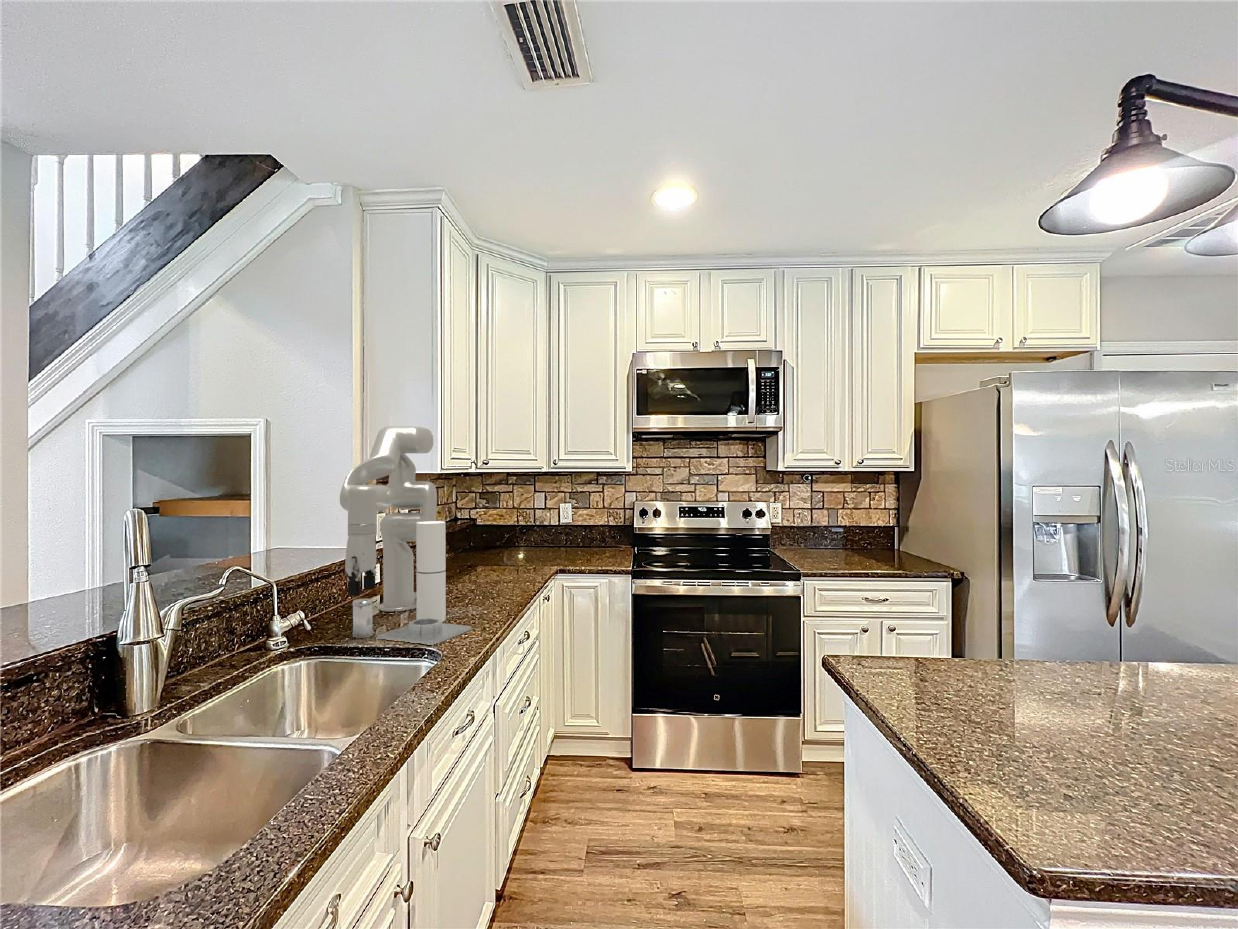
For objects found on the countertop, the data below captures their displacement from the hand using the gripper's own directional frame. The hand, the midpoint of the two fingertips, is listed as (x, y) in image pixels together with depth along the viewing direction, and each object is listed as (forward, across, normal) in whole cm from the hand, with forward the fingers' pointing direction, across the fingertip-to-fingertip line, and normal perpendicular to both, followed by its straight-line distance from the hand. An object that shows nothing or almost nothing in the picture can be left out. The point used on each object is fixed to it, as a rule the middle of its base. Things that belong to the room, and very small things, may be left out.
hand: (361, 592), depth 178 cm
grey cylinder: (+12, -1, 0) cm, 12 cm away
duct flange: (+12, -3, +17) cm, 21 cm away
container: (+12, -20, +13) cm, 26 cm away
